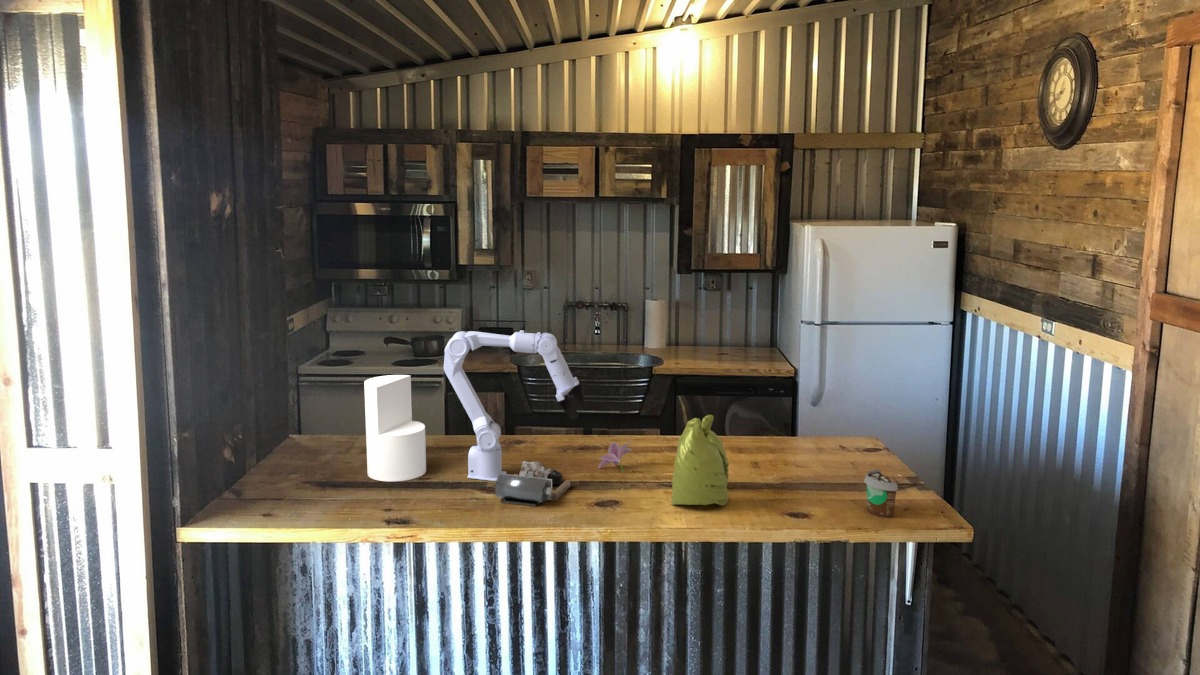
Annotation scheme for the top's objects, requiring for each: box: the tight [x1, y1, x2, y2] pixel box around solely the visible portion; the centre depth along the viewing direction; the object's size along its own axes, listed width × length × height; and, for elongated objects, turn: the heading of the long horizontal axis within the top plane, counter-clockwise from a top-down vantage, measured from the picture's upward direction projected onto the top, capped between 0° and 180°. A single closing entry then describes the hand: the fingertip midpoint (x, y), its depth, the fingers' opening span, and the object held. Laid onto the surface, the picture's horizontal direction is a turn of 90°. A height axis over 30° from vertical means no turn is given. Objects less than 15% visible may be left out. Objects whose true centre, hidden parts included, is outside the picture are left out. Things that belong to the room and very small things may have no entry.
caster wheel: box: [518, 460, 564, 485], centre depth 265 cm, size 7×11×10 cm
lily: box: [597, 441, 633, 474], centre depth 277 cm, size 12×12×10 cm
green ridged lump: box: [670, 414, 730, 506], centre depth 253 cm, size 25×16×24 cm, turn 170°
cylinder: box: [363, 374, 427, 482], centre depth 272 cm, size 17×17×28 cm
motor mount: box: [494, 473, 571, 507], centre depth 255 cm, size 17×19×7 cm
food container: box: [863, 468, 898, 519], centre depth 244 cm, size 12×6×10 cm, turn 5°
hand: (578, 413), depth 268 cm, fingers open, 7 cm apart
